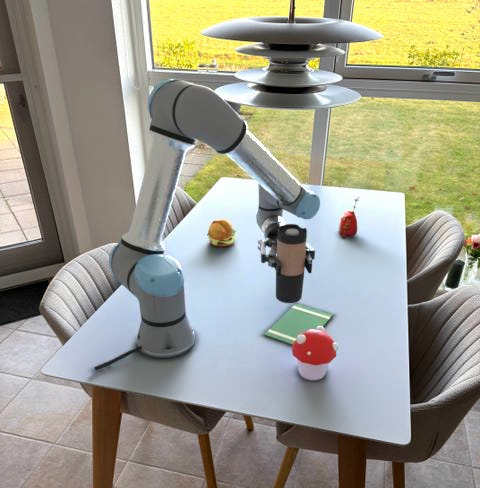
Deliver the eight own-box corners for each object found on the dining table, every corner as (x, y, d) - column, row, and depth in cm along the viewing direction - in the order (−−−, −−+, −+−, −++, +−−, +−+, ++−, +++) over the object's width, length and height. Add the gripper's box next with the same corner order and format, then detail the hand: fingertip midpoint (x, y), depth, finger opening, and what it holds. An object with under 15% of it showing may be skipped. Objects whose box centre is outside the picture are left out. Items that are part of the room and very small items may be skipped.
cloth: (303, 349, 134) (304, 348, 134) (264, 335, 139) (264, 334, 139) (332, 315, 147) (332, 314, 147) (295, 304, 152) (295, 303, 152)
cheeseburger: (239, 237, 192) (238, 215, 185) (231, 255, 186) (229, 233, 178) (214, 234, 195) (211, 212, 187) (205, 251, 188) (202, 229, 181)
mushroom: (331, 359, 130) (336, 320, 123) (336, 387, 121) (342, 347, 114) (290, 358, 130) (292, 319, 124) (292, 386, 121) (294, 346, 115)
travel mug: (275, 303, 138) (277, 235, 126) (274, 289, 144) (276, 223, 133) (303, 304, 137) (308, 235, 126) (301, 289, 144) (306, 223, 133)
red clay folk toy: (336, 231, 197) (340, 193, 189) (354, 230, 198) (358, 193, 189) (340, 239, 191) (344, 200, 183) (358, 238, 191) (363, 200, 183)
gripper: (309, 243, 153) (331, 279, 134) (242, 247, 150) (255, 285, 131) (311, 219, 149) (334, 253, 130) (242, 224, 146) (256, 259, 127)
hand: (295, 269), depth 131 cm, fingers closed on travel mug, 7 cm apart
